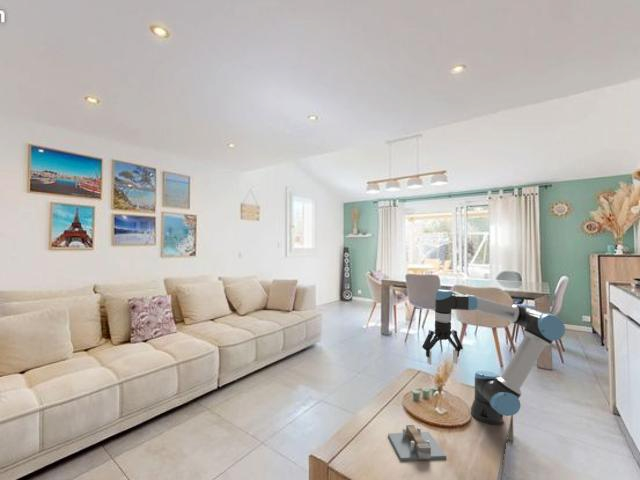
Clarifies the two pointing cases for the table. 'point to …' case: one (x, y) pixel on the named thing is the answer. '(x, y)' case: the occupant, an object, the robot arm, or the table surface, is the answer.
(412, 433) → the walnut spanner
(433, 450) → the slate peg board
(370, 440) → the table surface
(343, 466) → the table surface
